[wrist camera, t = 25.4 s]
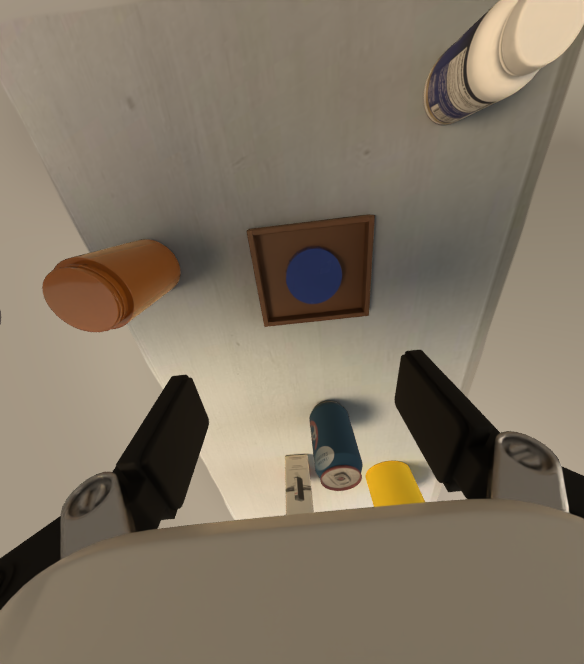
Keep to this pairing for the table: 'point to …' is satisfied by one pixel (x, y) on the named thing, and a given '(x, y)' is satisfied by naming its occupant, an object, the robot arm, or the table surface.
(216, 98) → the table surface
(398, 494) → the yellow hollow cylinder
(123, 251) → the jar
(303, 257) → the jar lid
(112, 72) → the table surface
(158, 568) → the robot arm
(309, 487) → the ink box
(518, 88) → the pill bottle
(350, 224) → the tray
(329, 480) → the soda can
